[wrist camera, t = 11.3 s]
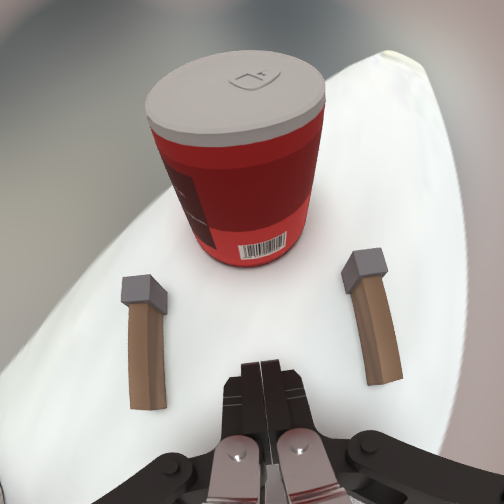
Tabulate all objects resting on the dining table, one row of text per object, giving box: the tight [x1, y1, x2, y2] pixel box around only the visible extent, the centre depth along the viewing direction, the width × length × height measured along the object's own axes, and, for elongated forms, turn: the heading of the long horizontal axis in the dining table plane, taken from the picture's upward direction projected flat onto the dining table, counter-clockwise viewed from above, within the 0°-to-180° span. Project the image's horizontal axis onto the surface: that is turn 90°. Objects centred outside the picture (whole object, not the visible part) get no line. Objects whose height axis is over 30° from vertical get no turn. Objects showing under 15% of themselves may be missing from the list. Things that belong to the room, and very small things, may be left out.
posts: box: [121, 248, 388, 315], centre depth 16 cm, size 15×2×3 cm, turn 96°
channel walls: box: [128, 275, 403, 410], centre depth 15 cm, size 14×6×2 cm, turn 96°
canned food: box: [145, 50, 326, 267], centre depth 15 cm, size 8×8×11 cm
